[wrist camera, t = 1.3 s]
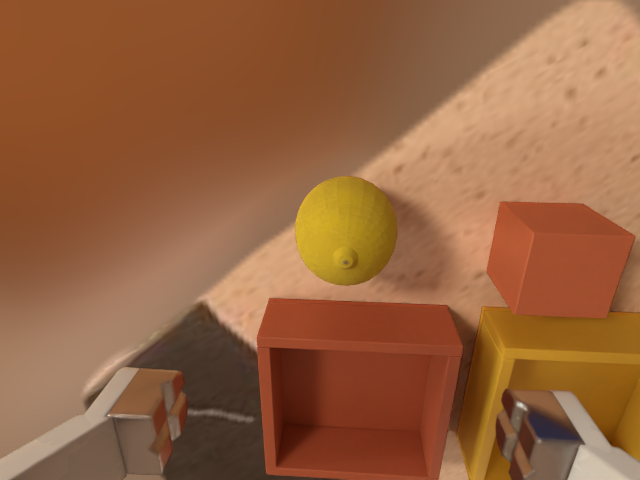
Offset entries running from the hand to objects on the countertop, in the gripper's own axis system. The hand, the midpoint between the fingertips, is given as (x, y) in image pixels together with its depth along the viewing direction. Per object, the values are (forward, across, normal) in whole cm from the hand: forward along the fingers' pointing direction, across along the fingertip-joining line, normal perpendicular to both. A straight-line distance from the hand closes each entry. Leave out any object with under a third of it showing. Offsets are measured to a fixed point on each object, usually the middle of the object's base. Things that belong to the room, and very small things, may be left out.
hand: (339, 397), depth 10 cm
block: (+17, -12, +2) cm, 21 cm away
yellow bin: (+17, -16, +14) cm, 27 cm away
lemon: (+17, 0, 0) cm, 17 cm away
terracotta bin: (+17, -1, +14) cm, 22 cm away
